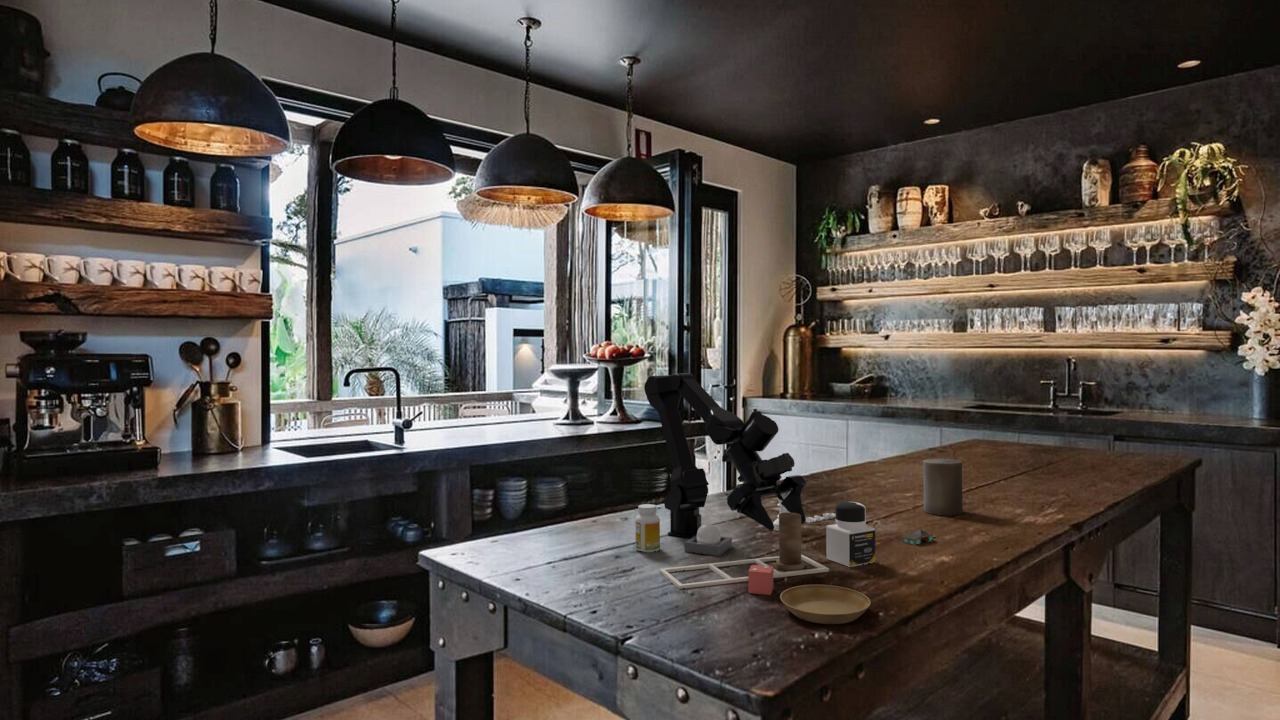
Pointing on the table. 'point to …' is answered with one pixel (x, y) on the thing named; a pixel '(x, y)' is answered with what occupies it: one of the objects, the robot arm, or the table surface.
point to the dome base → (708, 546)
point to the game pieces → (911, 538)
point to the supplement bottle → (647, 529)
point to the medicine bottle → (850, 536)
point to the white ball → (708, 534)
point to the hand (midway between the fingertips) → (788, 525)
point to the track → (741, 579)
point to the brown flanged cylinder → (790, 542)
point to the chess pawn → (782, 510)
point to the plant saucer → (825, 603)
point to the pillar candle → (943, 486)
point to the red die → (760, 579)
